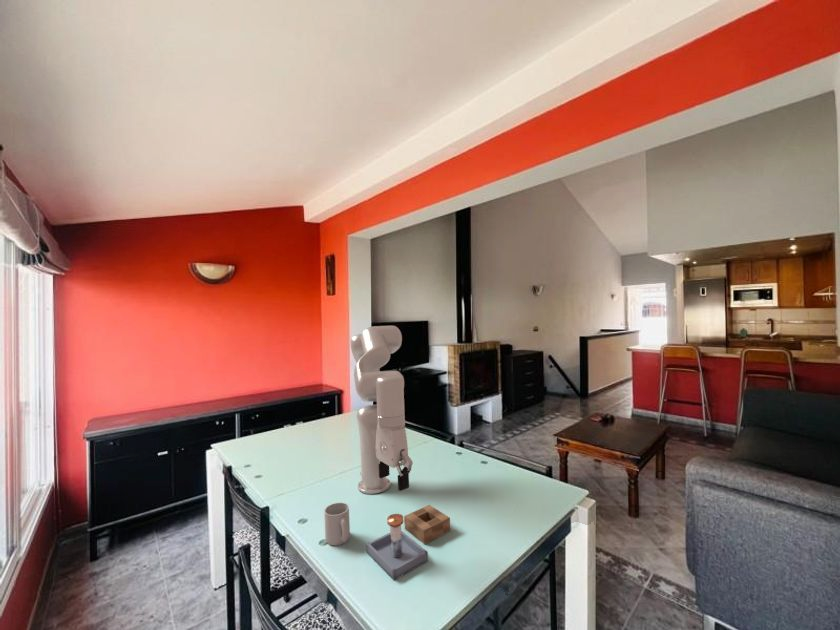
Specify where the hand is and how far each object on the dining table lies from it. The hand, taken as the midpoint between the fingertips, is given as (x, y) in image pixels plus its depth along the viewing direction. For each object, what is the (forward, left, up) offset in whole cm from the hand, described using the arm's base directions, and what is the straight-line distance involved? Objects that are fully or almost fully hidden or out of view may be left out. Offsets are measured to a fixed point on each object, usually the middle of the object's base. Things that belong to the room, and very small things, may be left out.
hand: (393, 482), depth 98 cm
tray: (0, 0, -20) cm, 20 cm away
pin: (0, 0, -20) cm, 20 cm away
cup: (-17, -9, -20) cm, 28 cm away
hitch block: (-4, +14, -20) cm, 25 cm away
